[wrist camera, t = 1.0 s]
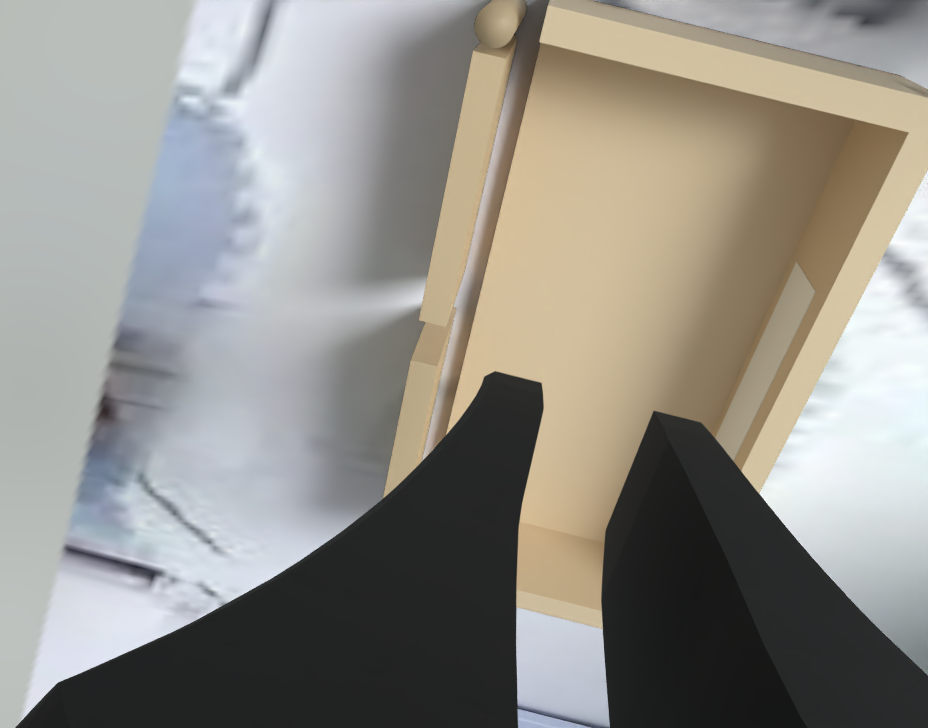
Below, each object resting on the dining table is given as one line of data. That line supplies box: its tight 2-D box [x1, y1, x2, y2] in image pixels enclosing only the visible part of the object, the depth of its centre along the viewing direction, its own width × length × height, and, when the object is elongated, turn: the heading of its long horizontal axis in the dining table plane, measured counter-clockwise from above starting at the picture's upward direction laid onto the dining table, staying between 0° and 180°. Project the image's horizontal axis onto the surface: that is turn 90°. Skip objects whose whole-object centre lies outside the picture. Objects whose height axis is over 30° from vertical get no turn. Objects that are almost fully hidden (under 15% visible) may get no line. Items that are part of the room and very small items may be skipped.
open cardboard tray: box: [446, 0, 928, 629], centre depth 18 cm, size 14×7×3 cm, turn 168°
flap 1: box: [383, 307, 456, 498], centre depth 20 cm, size 6×1×3 cm, turn 168°
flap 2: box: [419, 0, 527, 327], centre depth 16 cm, size 6×1×3 cm, turn 168°
